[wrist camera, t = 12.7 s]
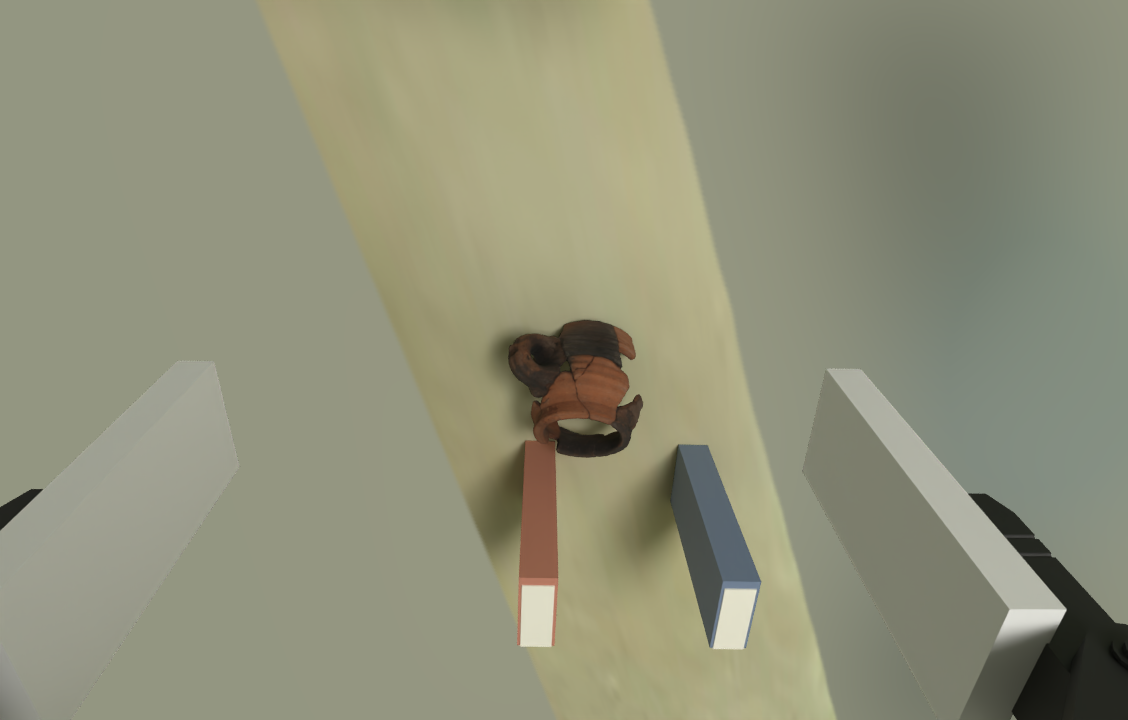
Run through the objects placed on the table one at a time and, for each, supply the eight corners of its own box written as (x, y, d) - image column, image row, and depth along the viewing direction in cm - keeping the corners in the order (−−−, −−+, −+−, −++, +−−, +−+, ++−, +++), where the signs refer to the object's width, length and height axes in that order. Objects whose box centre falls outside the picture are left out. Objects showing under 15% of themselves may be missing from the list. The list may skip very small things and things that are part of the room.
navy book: (678, 444, 58) (723, 582, 44) (707, 445, 58) (761, 582, 44) (670, 502, 61) (709, 649, 46) (697, 502, 61) (745, 650, 46)
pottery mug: (668, 345, 54) (668, 437, 49) (594, 390, 61) (588, 475, 56) (545, 278, 49) (533, 374, 44) (478, 336, 55) (461, 424, 50)
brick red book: (525, 440, 58) (518, 578, 43) (554, 441, 58) (558, 579, 43) (523, 498, 60) (517, 647, 46) (551, 499, 60) (554, 647, 46)
